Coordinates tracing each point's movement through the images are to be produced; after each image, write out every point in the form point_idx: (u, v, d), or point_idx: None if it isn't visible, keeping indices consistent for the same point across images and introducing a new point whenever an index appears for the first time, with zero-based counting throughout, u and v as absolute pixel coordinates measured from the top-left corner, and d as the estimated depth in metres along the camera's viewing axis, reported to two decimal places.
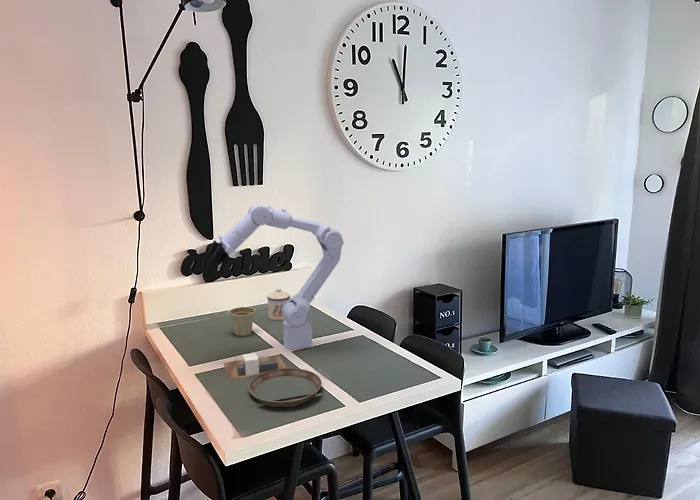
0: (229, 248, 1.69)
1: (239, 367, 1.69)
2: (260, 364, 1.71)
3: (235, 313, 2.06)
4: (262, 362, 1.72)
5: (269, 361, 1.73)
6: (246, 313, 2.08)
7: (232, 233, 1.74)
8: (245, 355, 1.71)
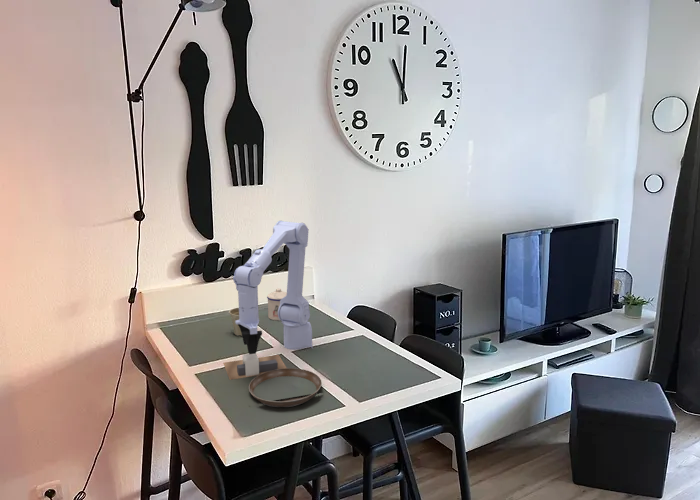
0: (251, 329, 1.61)
1: (239, 367, 1.69)
2: (260, 364, 1.71)
3: (235, 313, 2.06)
4: (262, 362, 1.72)
5: (269, 361, 1.73)
6: None
7: (243, 312, 1.64)
8: (245, 355, 1.71)
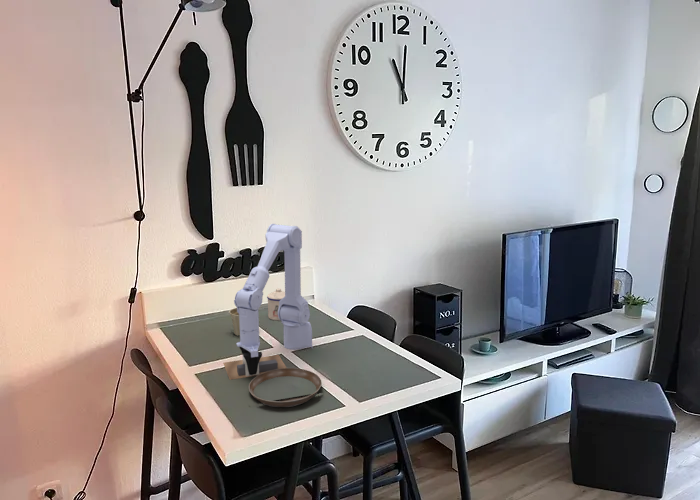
0: (252, 352, 1.62)
1: (239, 367, 1.69)
2: (260, 364, 1.71)
3: (235, 313, 2.06)
4: (262, 362, 1.72)
5: (269, 361, 1.73)
6: None
7: (244, 334, 1.66)
8: None
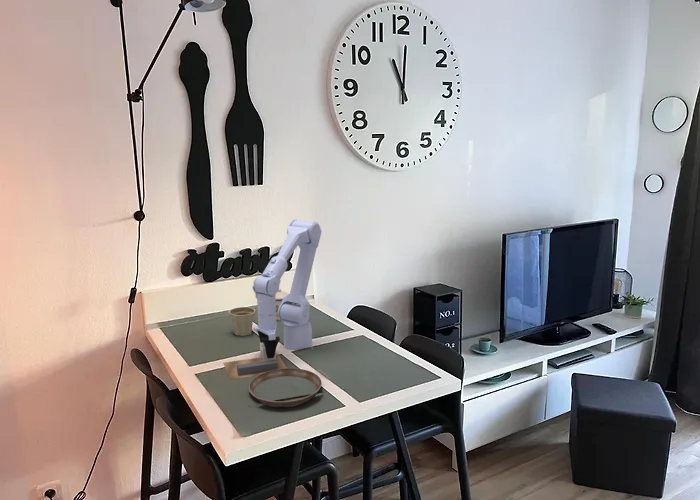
0: (270, 335, 1.71)
1: (239, 367, 1.69)
2: (260, 364, 1.71)
3: (235, 313, 2.06)
4: (262, 362, 1.72)
5: (269, 361, 1.73)
6: (246, 313, 2.08)
7: (261, 319, 1.75)
8: (262, 343, 1.80)
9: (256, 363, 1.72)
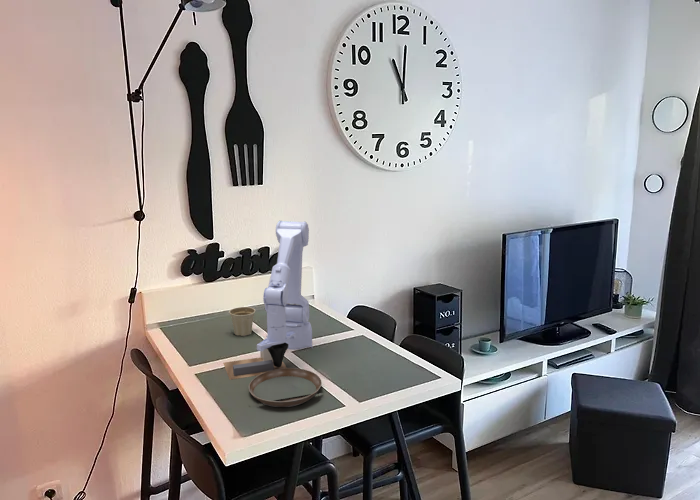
0: (257, 346, 1.67)
1: (235, 367, 1.69)
2: (256, 364, 1.71)
3: (235, 313, 2.06)
4: (258, 362, 1.72)
5: (265, 361, 1.73)
6: (246, 313, 2.08)
7: None
8: None
9: (252, 363, 1.71)
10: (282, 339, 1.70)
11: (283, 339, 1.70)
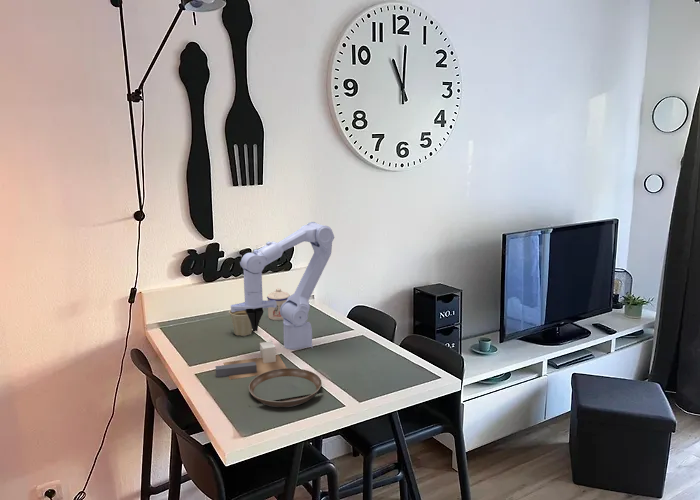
0: None
1: (217, 368, 1.68)
2: (239, 366, 1.70)
3: (235, 313, 2.06)
4: (241, 364, 1.71)
5: (248, 363, 1.71)
6: (246, 313, 2.08)
7: None
8: (262, 343, 1.80)
9: (235, 365, 1.70)
10: (254, 304, 1.78)
11: (255, 305, 1.78)
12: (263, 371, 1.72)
